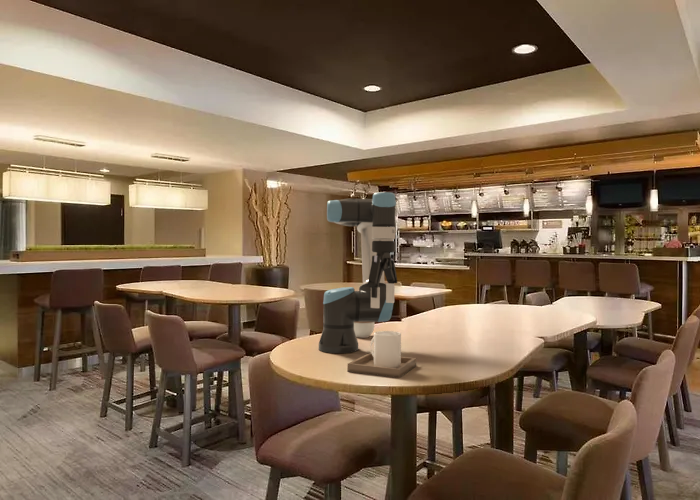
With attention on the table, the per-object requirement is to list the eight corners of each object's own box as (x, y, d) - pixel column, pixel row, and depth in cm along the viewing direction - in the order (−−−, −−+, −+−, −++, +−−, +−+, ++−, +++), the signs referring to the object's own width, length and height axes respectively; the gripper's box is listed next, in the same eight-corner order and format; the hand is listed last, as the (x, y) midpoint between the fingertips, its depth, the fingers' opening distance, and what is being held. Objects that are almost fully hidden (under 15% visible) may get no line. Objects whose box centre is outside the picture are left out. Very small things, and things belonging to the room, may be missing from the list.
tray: (347, 371, 156) (347, 363, 156) (368, 360, 172) (368, 353, 172) (399, 377, 149) (399, 369, 149) (416, 365, 165) (416, 358, 165)
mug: (380, 360, 168) (380, 328, 168) (406, 367, 159) (406, 333, 159) (361, 364, 163) (361, 331, 163) (387, 371, 154) (387, 336, 154)
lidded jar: (347, 334, 222) (347, 313, 222) (369, 333, 226) (369, 313, 226) (354, 339, 212) (354, 317, 212) (378, 337, 215) (378, 316, 215)
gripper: (380, 240, 150) (379, 311, 151) (406, 240, 173) (406, 301, 173) (357, 240, 153) (356, 309, 154) (386, 239, 176) (385, 300, 176)
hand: (382, 305), depth 164 cm, fingers open, 13 cm apart
